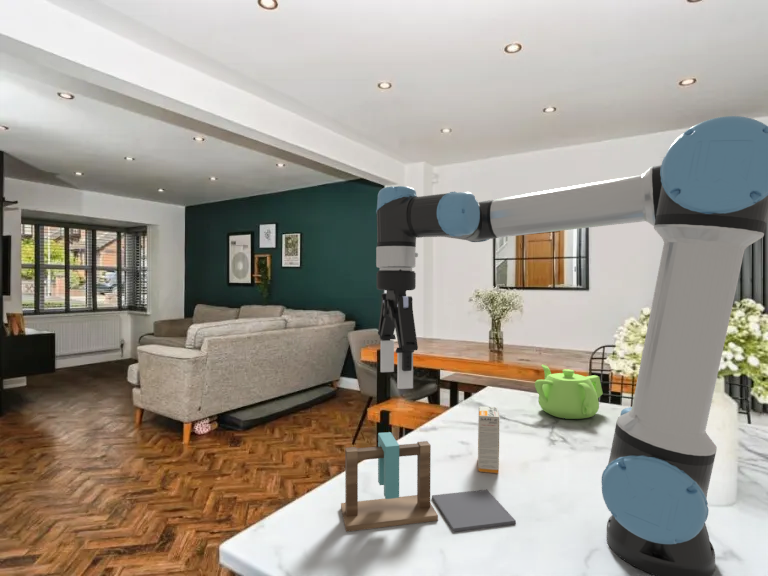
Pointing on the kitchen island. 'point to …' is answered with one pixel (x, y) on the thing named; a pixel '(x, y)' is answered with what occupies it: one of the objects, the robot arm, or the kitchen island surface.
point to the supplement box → (488, 440)
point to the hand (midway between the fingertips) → (395, 379)
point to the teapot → (569, 394)
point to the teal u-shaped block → (389, 465)
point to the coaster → (472, 510)
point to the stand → (387, 510)
